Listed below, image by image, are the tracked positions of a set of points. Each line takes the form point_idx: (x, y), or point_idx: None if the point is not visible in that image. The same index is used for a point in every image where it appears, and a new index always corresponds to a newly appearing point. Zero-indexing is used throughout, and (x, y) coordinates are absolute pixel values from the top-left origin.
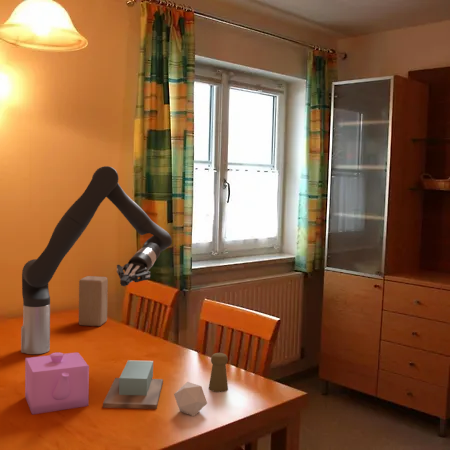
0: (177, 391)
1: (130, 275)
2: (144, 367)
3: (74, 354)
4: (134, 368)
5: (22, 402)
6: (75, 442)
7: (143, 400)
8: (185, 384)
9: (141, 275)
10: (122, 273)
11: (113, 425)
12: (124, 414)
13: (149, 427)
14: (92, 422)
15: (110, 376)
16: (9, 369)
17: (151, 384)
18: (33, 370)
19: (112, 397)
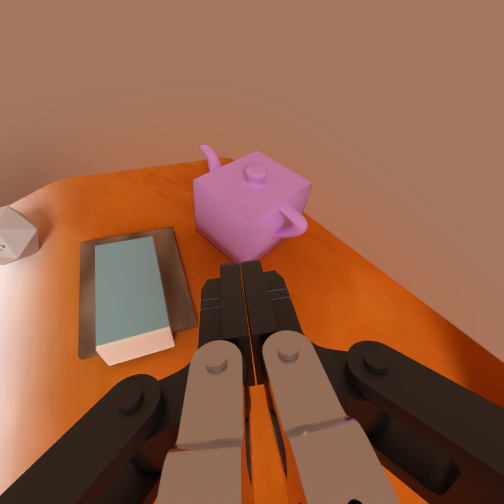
0: (27, 224)
1: (214, 349)
2: (112, 298)
3: (250, 210)
4: (136, 285)
5: None
6: (167, 168)
7: None
8: (2, 221)
9: (36, 472)
10: (347, 352)
11: (138, 198)
12: (132, 222)
13: (87, 203)
14: (168, 199)
15: None
16: (423, 309)
17: None
18: (260, 154)
19: (165, 245)
